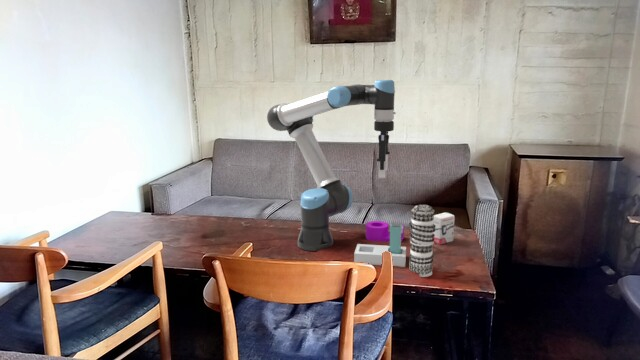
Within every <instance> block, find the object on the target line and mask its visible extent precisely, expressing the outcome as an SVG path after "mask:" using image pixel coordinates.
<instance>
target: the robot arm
mask: <svg viewBox="0 0 640 360" xmlns="http://www.w3.org/2000/svg"><path fill="white" fill-rule="evenodd" d="M395 89H396V88H395V81H394V79H393V80H392V79H376V80H375V82H374V84H359V83H358V84H351V85H337V86H334V87H332V88H330V89H329V90H327V91H323V92H321V93H318V94H315V95H311V96H309V97H306V98H304V99H303V98H302V99H300V100H296V101H294V102H292V103H280V104H275V105H273V106H272V107H270V109H269V110H268V112H267V116H266V120H267V123H268V125H269V126H270V127H271V128H272V129H273V130H275V131H277V132H285V131H286V132H287V134H288V136H290V138H292V139H294V140H295V142H296V144H297V146H298V147H299V150H300V153H301V154H302V156H303V158H304V160H305V163H306V166H307V167H308V169H309V171H310V173H311V175H312V177H313V179H314V182H315V184H316V187H315V188H310V189H307V190H305V191H303V192H302V193H301V196H300V218H301V219H300V220H301V222H300V223H301V224H300V225H301V227H300V232H299V234H298V236H297V237H298V238H297V247H299V248H300V249H301V250H304V251H309V252H310V251H311V252H319V250H322V249H327V248H330V247H331V246H333V244H334V237H333V234H332V232H331V229H330V217H333V216H335V215H339V214H342V213H344V212H345V211H347V210H349V209H350V208H351V207H352V205H353V200H354V196H353V192H352V189H350V187H349V186H347V185H345V184H342V182H341V179H340V178H338V177H336V176H335V175H334V173H333V171H332V168H331V166H330V165H329V162H328V161H327V158H326V156H325V154H324V152H323V150H322V148H321V146H320V143H319V142H318V139H317V138H316V136H315V134H314V132H313V128H314V123H313V122H314V116H317V115H319V114H320V115H321V114H324V113H327V112H330V111H333V110H337V109H340V108H344V107H349V106H359V105H374V110H373V111H374V112H373V114H374V116H373V119H374V125H373V127H374V128H373V129H374V131H376V132H380V134H378V137H377V139H378V158H376V162H378V165H377V166H378V169H377V170H378V171H377V172H378V173H377V174H378V177H377V178H378V179H386V178H387V177H386V175H387V173H386V171H388V169H389V167H388V166H389V155H390V153H391V152H390V151H389V143H390V142H389V141H390V135H389V132H392V131H394V130H395V121H394V119H395V115H396V113H397V112H396V111H395V93H396V90H395Z"/></svg>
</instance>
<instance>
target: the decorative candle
mask: <svg viewBox="0 0 640 360" xmlns="http://www.w3.org/2000/svg"><path fill="white" fill-rule="evenodd" d="M411 213H412V215H411V220H410V222H409V224H408V225H409V236H410V237H409V243H410V251H409V252H410V253H408V254H409V257H408V258H409V259H408V261H409V262H408V264H409V265H408V269H409V271H411V272H412V273H414V274H418V277H419V278H428V277H430V276H432V275H433V270H434V268H433V266H434V254H433V253H434V252H433V251H434V250H433V245H434V244H435V243H434V238H433V237H434V236H435V235H434V234H433V232H435V229H434V228H435V227H436V226H435V225H434V215H435V214H434V213H435V209H433V207H432V206H430V205H428V204H418V205H417V204H416V205H415V206H414V207H413V208H412V209H411Z"/></svg>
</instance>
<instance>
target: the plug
mask: <svg viewBox="0 0 640 360" xmlns="http://www.w3.org/2000/svg"><path fill="white" fill-rule="evenodd" d="M401 225H402V224H401V223H390V225H389V232H390V242H389V246H390V252H391V253H392V254H401V247H402V241H401V233H403V226H404V225H402V226H401Z"/></svg>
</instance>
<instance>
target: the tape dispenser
mask: <svg viewBox="0 0 640 360" xmlns="http://www.w3.org/2000/svg"><path fill="white" fill-rule="evenodd" d="M401 226H403V233H401V242H402V241H403V240H404V238H405V226H404V225H402V224H401ZM389 230H390V225H389V223H388V222H386V221H381V220H373V221H368V222H366V223H365V239H366V240H368V241H370V242H384V243H386V242H387V243H390V231H389Z"/></svg>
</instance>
